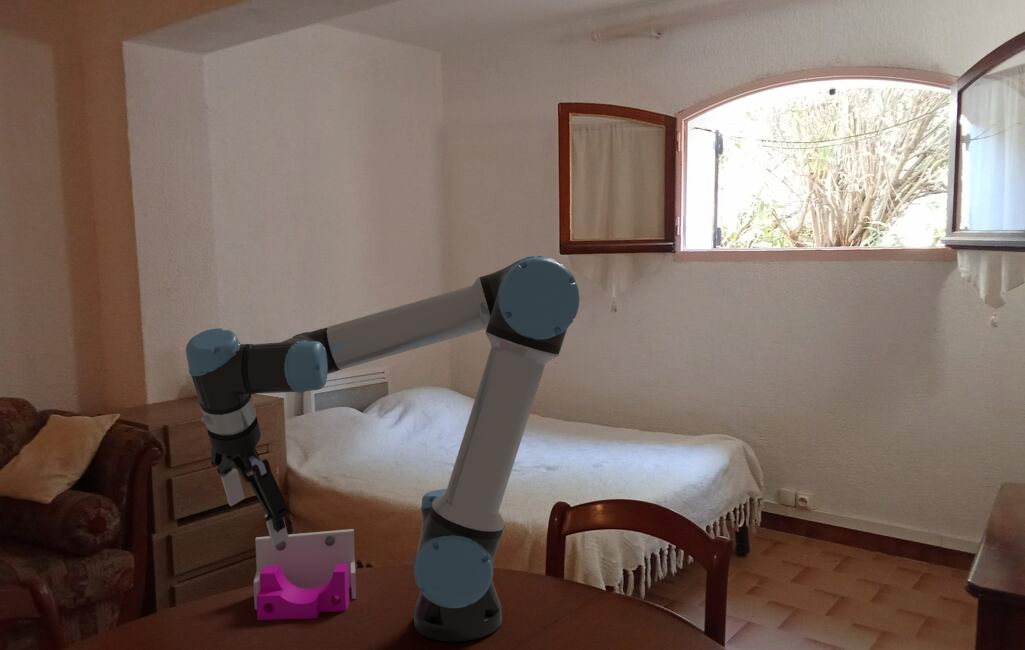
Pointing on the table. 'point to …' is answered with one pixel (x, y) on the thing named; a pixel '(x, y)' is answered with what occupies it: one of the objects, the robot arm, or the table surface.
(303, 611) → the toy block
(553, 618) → the table surface
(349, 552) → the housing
